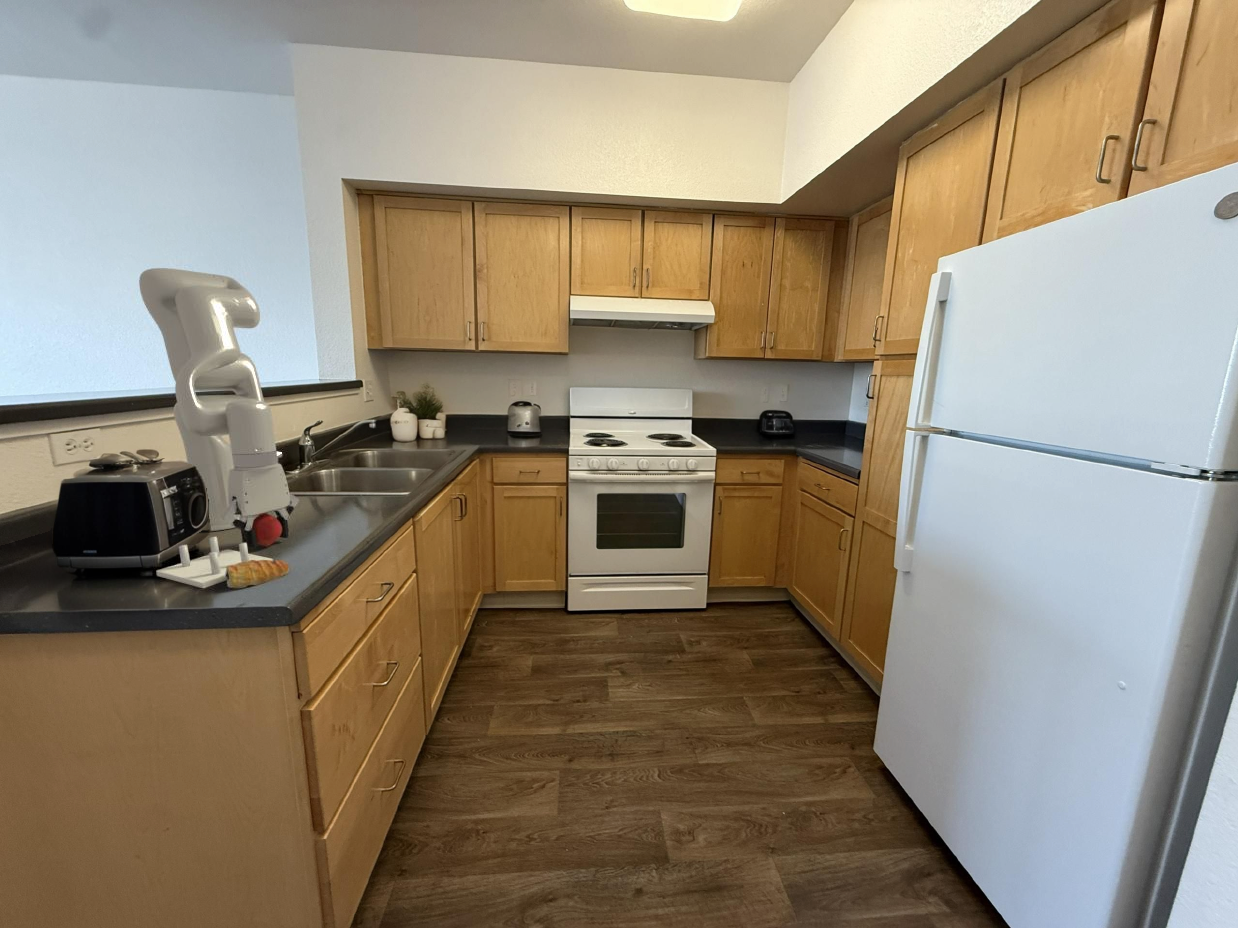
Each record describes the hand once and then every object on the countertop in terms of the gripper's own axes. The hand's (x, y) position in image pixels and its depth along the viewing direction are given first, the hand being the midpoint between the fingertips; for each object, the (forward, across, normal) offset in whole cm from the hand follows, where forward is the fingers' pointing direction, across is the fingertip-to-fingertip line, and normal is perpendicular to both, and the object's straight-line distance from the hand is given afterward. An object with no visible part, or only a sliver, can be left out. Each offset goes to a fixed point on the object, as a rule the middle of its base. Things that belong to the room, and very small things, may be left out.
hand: (267, 541), depth 105 cm
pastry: (+2, +12, +15) cm, 20 cm away
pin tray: (+1, +12, +4) cm, 13 cm away
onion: (+1, 0, 0) cm, 1 cm away
